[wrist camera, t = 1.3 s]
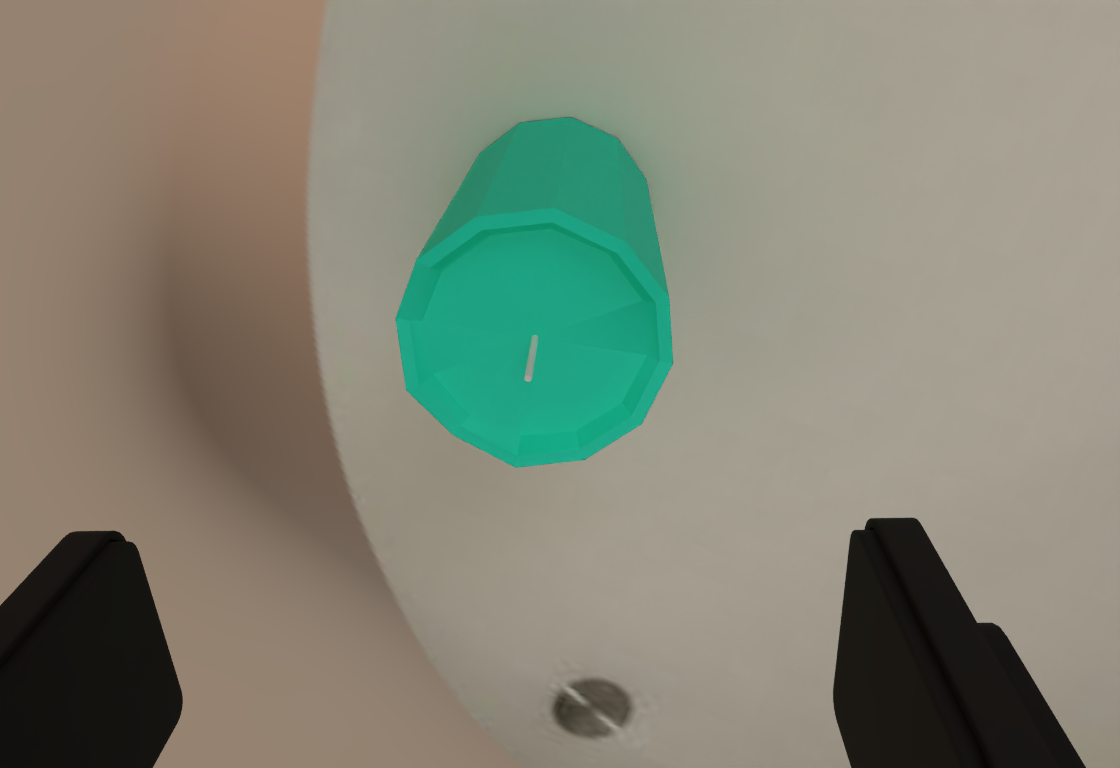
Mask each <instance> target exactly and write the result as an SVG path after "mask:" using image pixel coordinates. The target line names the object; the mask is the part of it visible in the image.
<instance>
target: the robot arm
mask: <svg viewBox="0 0 1120 768" xmlns="http://www.w3.org/2000/svg"><path fill="white" fill-rule="evenodd" d="M833 701H834V710H835V715H836V719H837V723H838V726H839V729H840V733H841V736H842V739H843V742H844V746H845V749H846V752H847V755H848V758H849V762H850V765H851V768H1086V767H1085V765H1084V764H1083V762H1082V760H1081V759H1080V757H1079V756H1078V754H1077V752H1076V751H1075V749H1074V747H1073V746H1072V744H1071V742H1070V741H1069V739H1068V737H1067V736H1066V734H1065V732H1064V731H1063V729H1062V727H1061V726H1060V724H1059V722H1058V721H1057V719H1056V717H1055V716H1054V714H1053V712H1052V711H1051V709H1050V707H1049V706H1048V704H1047V702H1046V701H1045V699H1044V697H1043V696H1042V694H1041V692H1040V691H1039V689H1038V687H1037V686H1036V684H1035V682H1034V681H1033V679H1032V677H1031V676H1030V674H1029V672H1028V671H1027V669H1026V667H1025V666H1024V664H1023V662H1022V661H1021V659H1020V657H1019V656H1018V654H1017V652H1016V651H1015V649H1014V647H1013V646H1012V644H1011V642H1010V641H1009V639H1008V638H1007V636H1006V635H1005V633H1004V632H1003V631H1002V630H1001V628H1000V627H999V626H997V625H995V624H993V623H977V622H976V620H975V618H974V617H973V615H972V613H971V611H970V609H969V608H968V606H967V604H966V602H965V601H964V599H963V597H962V595H961V594H960V592H959V590H958V588H957V587H956V585H955V583H954V581H953V580H952V578H951V576H950V574H949V573H948V571H947V569H946V567H945V566H944V564H943V562H942V560H941V559H940V557H939V555H938V553H937V551H936V550H935V548H934V546H933V544H932V543H931V541H930V539H929V537H928V536H927V534H926V532H925V530H924V529H923V527H922V525H921V523H920V522H919V521H918V520H917V519H916V518H870V519H869V520H868V521H867V523H866V526H865V530H854V531H853V532H852V534H851V538H850V544H849V553H848V562H847V571H846V580H845V589H844V598H843V607H842V616H841V625H840V634H839V643H838V652H837V661H836V670H835V678H834V688H833ZM182 704H183V699H182V691H181V688H180V685H179V681H178V678H177V675H176V672H175V668H174V665H173V662H172V659H171V655H170V652H169V649H168V646H167V642H166V639H165V636H164V633H163V629H162V626H161V623H160V620H159V617H158V613H157V610H156V607H155V604H154V600H153V597H152V594H151V590H150V587H149V584H148V581H147V577H146V574H145V571H144V567H143V564H142V561H141V558H140V555H139V551H138V549H137V547H136V545H135V544H134V543H132V542H126V540H125V538H124V536H122V534H121V533H119V532H117V531H76V532H72V533H69V534H68V535H66V536H65V537H64V538H63V539H62V540H61V541H60V542H59V543H58V544H57V545H56V546H55V548H54V549H53V550H52V551H51V552H50V553H49V554H48V555H47V556H46V557H45V558H44V559H43V560H42V562H41V563H40V564H39V565H38V566H37V567H36V568H35V569H34V570H33V571H32V572H31V573H30V574H29V575H28V577H27V578H26V579H25V580H24V581H23V582H22V583H21V584H20V585H19V586H18V587H17V588H16V589H15V591H14V592H13V593H12V594H11V595H10V596H9V597H8V598H7V599H6V600H5V601H4V602H3V603H2V604H1V606H0V768H153V766H154V764H155V762H156V761H157V759H158V757H159V755H160V753H161V752H162V750H163V748H164V746H165V744H166V743H167V741H168V739H169V737H170V735H171V733H172V732H173V730H174V728H175V726H176V725H177V723H178V720H179V718H180V715H181V711H182Z"/></svg>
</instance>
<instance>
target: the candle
mask: <svg viewBox="0 0 1120 768" xmlns="http://www.w3.org/2000/svg"><path fill="white" fill-rule="evenodd" d="M396 324H397V331H398V338H399V345H400V351H401V358H402V365H403V371H404V378H405V385H406V390H407V391H408V392H409V393H410V394H411V395H412V396H413V397H414V398H415V399H416V400H417V401H418V402H419V403H420V404H421V405H422V406H423V407H424V408H425V409H426V410H427V411H429V412H430V413H431V414H432V415H433V416H434V417H435V418H436V419H437V420H438V421H439V422H440V423H441V424H442V425H443V426H444V427H445V428H446V429H447V430H448V431H449V432H451V433H452V434H453V435H454V436H456V437H458V438H460V439H462V440H463V441H465V442H467V443H469V444H471V445H473V446H475V447H477V448H479V449H481V450H483V451H485V452H487V453H489V454H491V455H492V456H494V457H496V458H498V459H500V460H502V461H504V462H506V463H508V464H510V465H512V466H514V467H525V466H534V465H543V464H552V463H561V462H570V461H579V460H585V459H587V458H588V457H590V456H591V455H593V454H595V453H596V452H598V451H599V450H601V449H603V448H604V447H606V446H607V445H609V444H611V443H612V442H614V441H615V440H617V439H619V438H620V437H622V436H623V435H625V434H627V433H628V432H630V431H631V430H633V429H635V428H636V427H638V426H639V425H641V424H642V422H643V420H644V419H645V417H646V415H647V413H648V411H649V409H650V407H651V405H652V403H653V401H654V399H655V397H656V395H657V393H658V391H659V390H660V388H661V386H662V384H663V382H664V380H665V378H666V376H667V374H668V372H669V370H670V368H671V366H672V364H673V353H672V336H671V319H670V302H669V294H668V289H667V284H666V279H665V273H664V268H663V263H662V258H661V253H660V248H659V243H658V237H657V232H656V227H655V222H654V217H653V212H652V207H651V201H650V196H649V191H648V186H647V181H646V178H645V177H644V176H643V174H642V173H641V171H640V170H639V168H638V167H637V166H636V164H635V163H634V161H633V160H632V158H631V157H630V155H629V154H628V153H627V151H626V150H625V148H624V147H623V145H622V144H621V143H620V141H619V140H618V138H616V137H614V136H611V135H609V134H607V133H605V132H603V131H600V130H598V129H596V128H594V127H592V126H589V125H587V124H585V123H583V122H581V121H578V120H576V119H574V118H572V117H566V118H557V119H548V120H539V121H530V122H521V123H519V124H517V125H516V126H515V127H514V128H512V129H511V130H510V131H508V132H507V133H506V134H504V135H503V136H502V137H501V138H499V139H498V140H497V141H495V142H494V143H493V144H491V145H490V146H489V147H488V148H486V149H485V150H484V151H482V152H481V153H480V154H479V156H478V158H477V159H476V161H475V163H474V164H473V166H472V168H471V169H470V171H469V173H468V174H467V176H466V178H465V179H464V181H463V183H462V184H461V186H460V188H459V190H458V191H457V193H456V195H455V196H454V198H453V200H452V201H451V203H450V205H449V206H448V208H447V210H446V211H445V213H444V215H443V216H442V218H441V220H440V221H439V223H438V225H437V226H436V228H435V230H434V231H433V233H432V235H431V237H430V238H429V240H428V242H427V243H426V245H425V247H424V248H423V250H422V252H421V253H420V255H419V257H418V258H417V260H416V263H415V266H414V269H413V271H412V274H411V277H410V280H409V283H408V285H407V288H406V291H405V294H404V296H403V299H402V302H401V305H400V308H399V310H398V313H397V316H396Z"/></svg>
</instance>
